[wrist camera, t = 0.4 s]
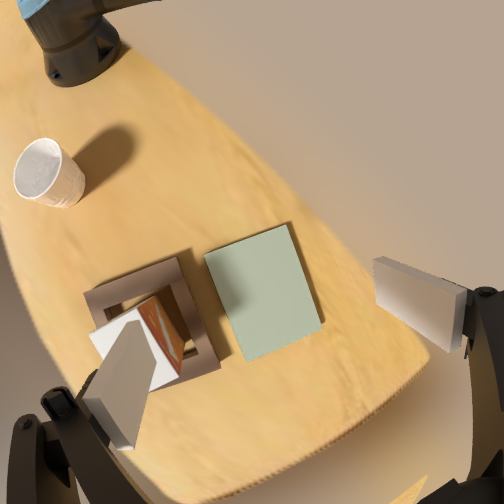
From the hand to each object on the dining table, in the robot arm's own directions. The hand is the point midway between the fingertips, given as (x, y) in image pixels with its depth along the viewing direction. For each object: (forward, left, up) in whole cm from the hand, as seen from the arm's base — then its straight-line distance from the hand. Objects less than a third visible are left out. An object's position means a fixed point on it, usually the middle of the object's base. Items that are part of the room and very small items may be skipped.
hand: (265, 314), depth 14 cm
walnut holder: (+3, -12, -25) cm, 28 cm away
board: (+4, +5, -25) cm, 26 cm away
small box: (+3, -12, -25) cm, 28 cm away
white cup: (-21, -18, -25) cm, 38 cm away
